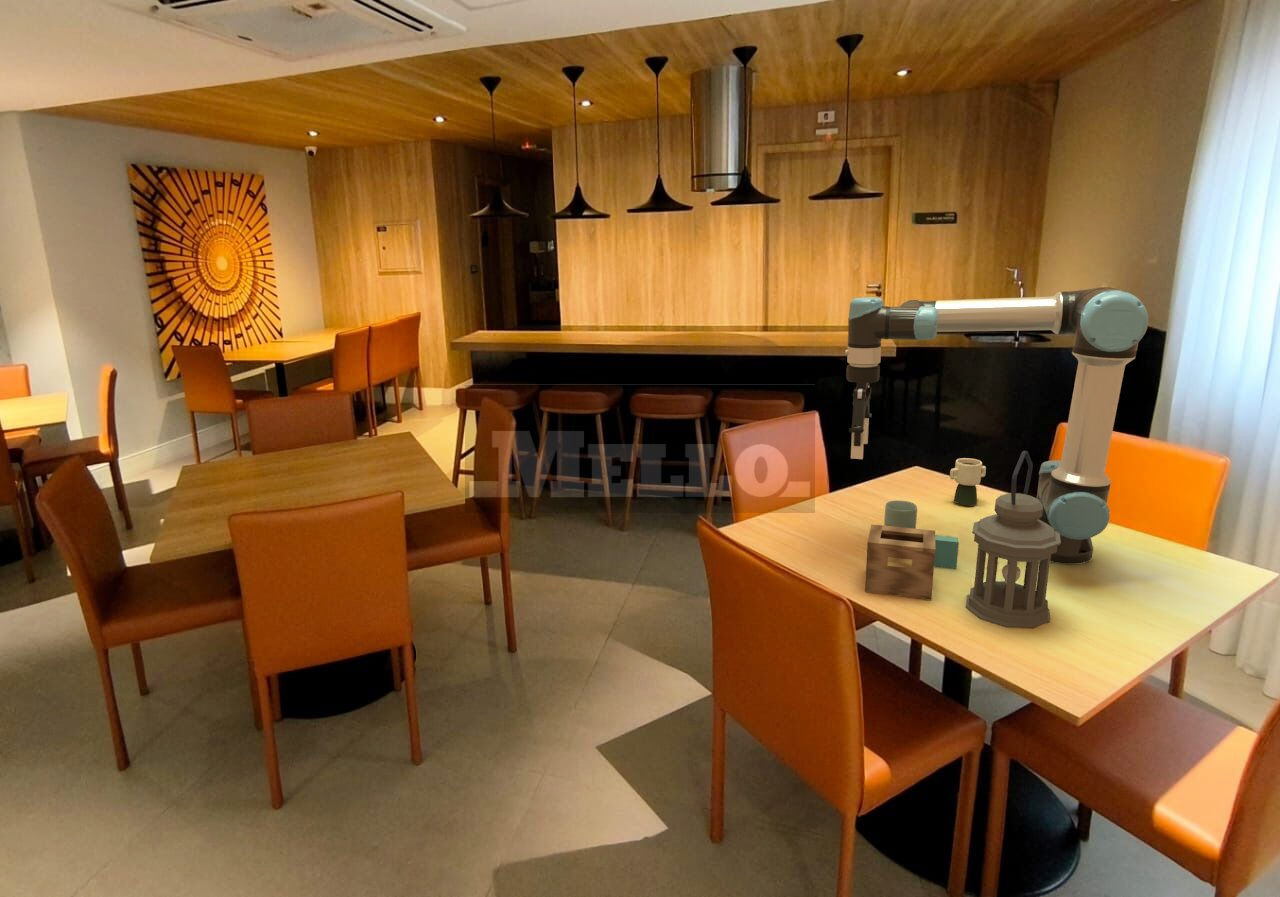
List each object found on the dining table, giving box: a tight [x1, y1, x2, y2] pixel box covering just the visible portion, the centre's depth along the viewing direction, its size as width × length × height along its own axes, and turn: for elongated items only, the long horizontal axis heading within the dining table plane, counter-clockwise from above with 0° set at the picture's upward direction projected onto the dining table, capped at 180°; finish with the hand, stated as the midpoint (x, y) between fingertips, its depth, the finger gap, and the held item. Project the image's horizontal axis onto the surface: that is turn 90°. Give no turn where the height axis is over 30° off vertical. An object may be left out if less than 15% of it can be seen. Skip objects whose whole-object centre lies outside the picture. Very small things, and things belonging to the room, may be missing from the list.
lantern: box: [964, 450, 1061, 629], centre depth 155 cm, size 17×17×35 cm
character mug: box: [949, 457, 987, 507], centre depth 218 cm, size 11×7×13 cm, turn 98°
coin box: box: [864, 523, 936, 601], centre depth 170 cm, size 14×11×12 cm
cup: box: [883, 500, 918, 529], centre depth 194 cm, size 8×8×10 cm
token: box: [934, 534, 960, 570], centre depth 180 cm, size 7×3×7 cm, turn 69°
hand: (859, 450), depth 183 cm, fingers open, 13 cm apart
